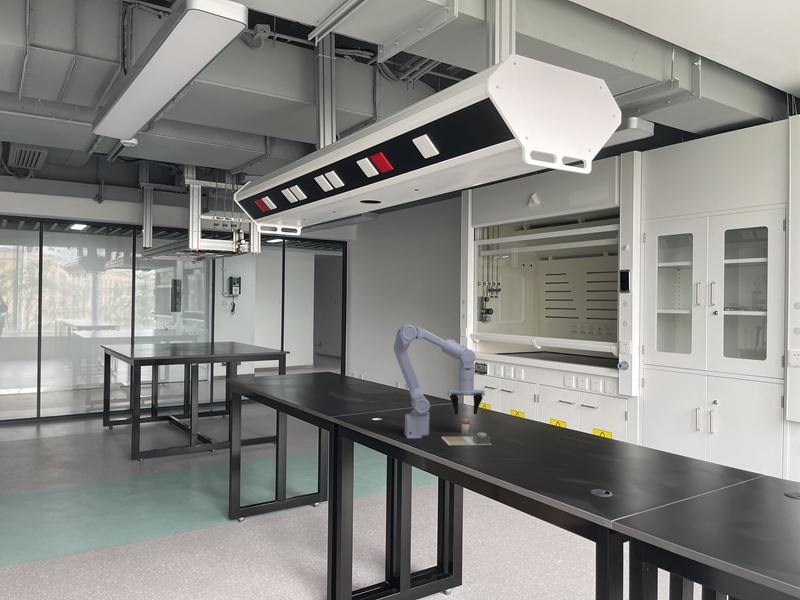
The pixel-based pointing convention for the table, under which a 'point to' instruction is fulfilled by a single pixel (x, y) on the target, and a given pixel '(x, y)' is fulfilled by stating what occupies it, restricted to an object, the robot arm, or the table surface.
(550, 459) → the table surface
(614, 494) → the table surface
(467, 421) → the orange and grey cylinder
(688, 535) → the table surface
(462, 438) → the board
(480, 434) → the button
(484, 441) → the button housing
